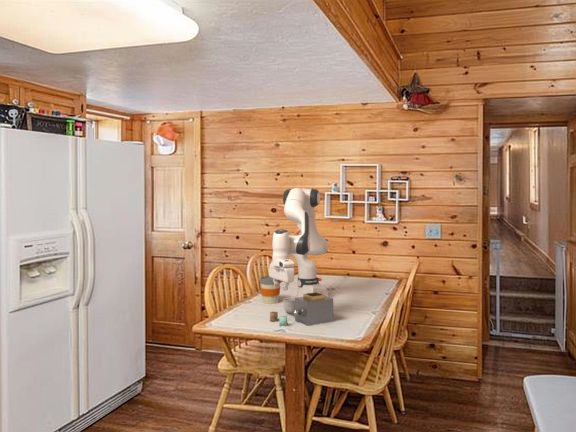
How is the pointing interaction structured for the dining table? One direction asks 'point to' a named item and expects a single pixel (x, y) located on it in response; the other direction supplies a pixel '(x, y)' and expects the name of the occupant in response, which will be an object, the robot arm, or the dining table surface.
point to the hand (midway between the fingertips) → (281, 288)
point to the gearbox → (313, 309)
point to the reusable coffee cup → (269, 290)
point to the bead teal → (283, 321)
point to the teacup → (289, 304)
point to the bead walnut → (273, 316)
